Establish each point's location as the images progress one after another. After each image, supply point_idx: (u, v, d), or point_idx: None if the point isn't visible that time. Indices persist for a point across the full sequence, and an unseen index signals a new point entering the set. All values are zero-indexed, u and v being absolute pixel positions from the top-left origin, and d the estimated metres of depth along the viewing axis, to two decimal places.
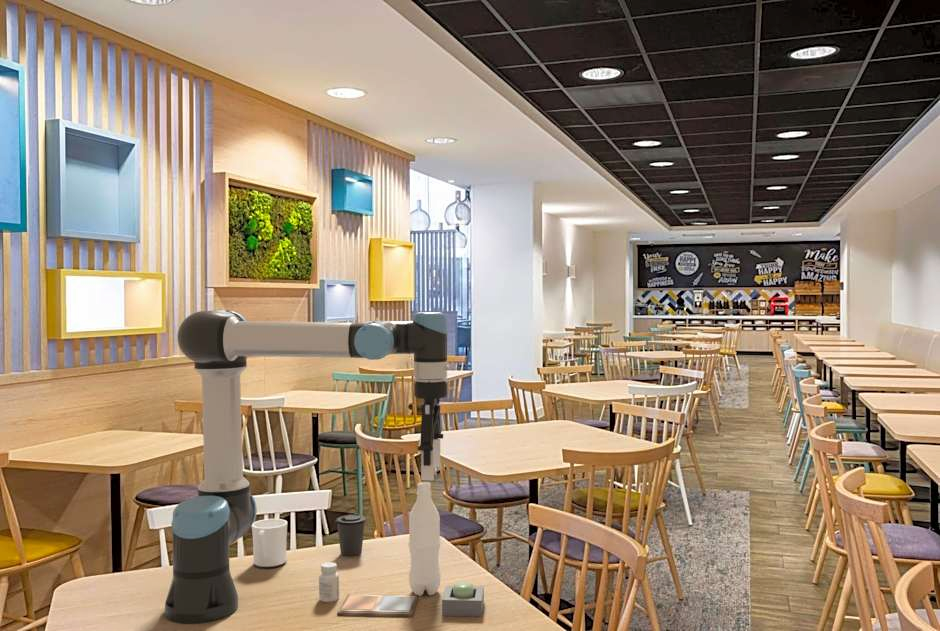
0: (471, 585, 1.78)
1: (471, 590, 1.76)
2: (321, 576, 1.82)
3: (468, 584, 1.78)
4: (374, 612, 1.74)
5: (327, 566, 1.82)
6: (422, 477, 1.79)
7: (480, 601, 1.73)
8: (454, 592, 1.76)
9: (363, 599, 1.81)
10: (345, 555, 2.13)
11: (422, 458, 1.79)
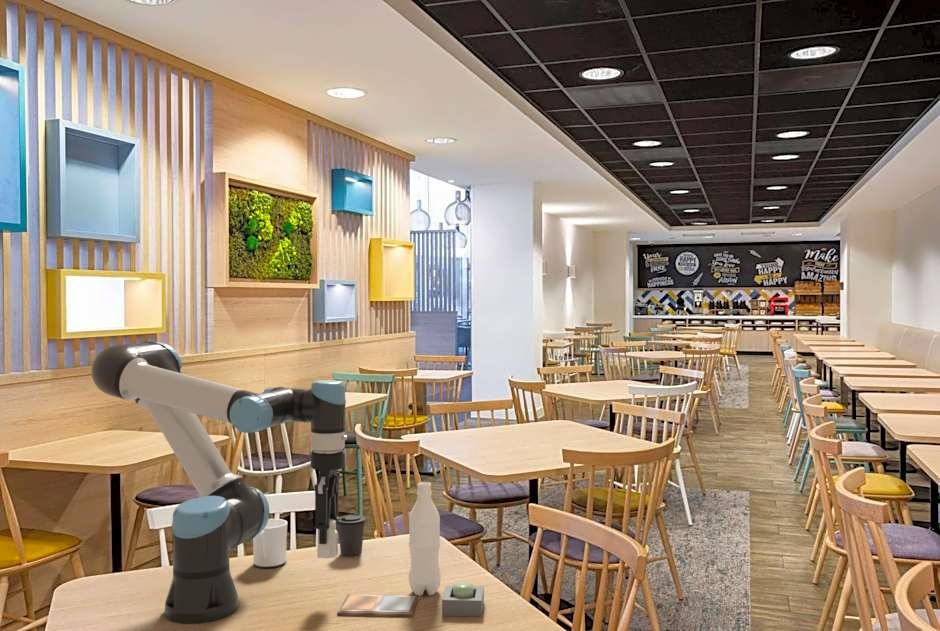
0: (471, 585, 1.78)
1: (471, 590, 1.76)
2: None
3: (468, 584, 1.78)
4: (374, 612, 1.74)
5: None
6: (318, 555, 1.81)
7: (480, 601, 1.73)
8: (454, 592, 1.76)
9: (363, 599, 1.81)
10: (345, 555, 2.13)
11: (318, 536, 1.81)
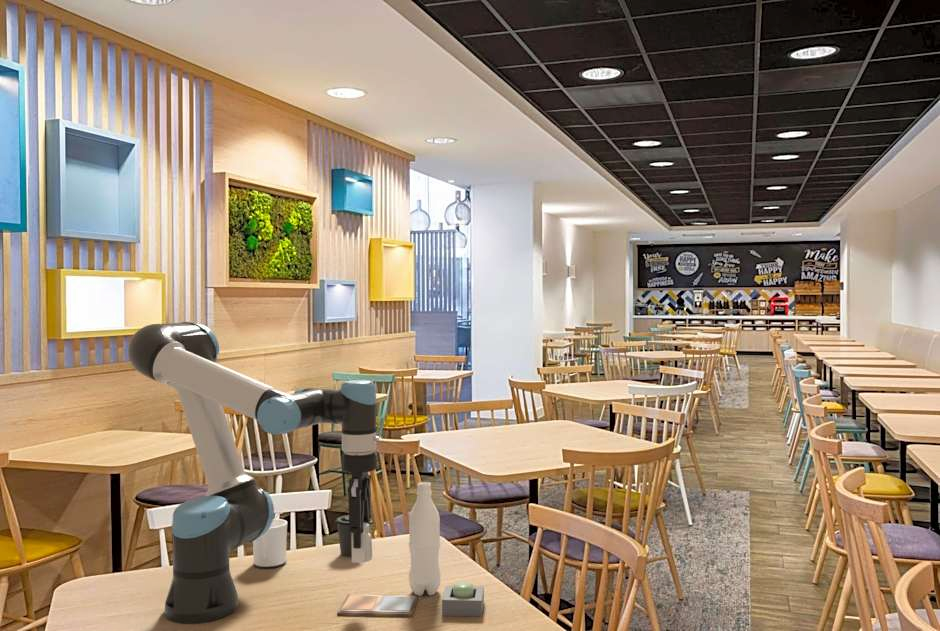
0: (471, 585, 1.78)
1: (471, 590, 1.76)
2: None
3: (468, 584, 1.78)
4: (374, 612, 1.74)
5: None
6: (352, 559, 1.76)
7: (480, 601, 1.73)
8: (454, 592, 1.76)
9: (363, 599, 1.81)
10: (345, 555, 2.13)
11: (352, 540, 1.76)
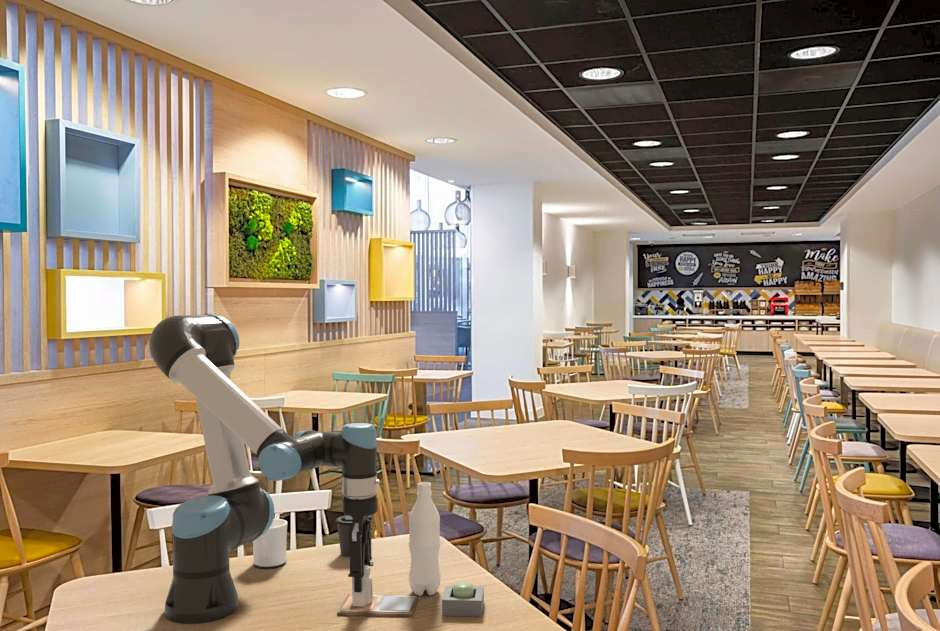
0: (471, 585, 1.78)
1: (471, 590, 1.76)
2: None
3: (468, 584, 1.78)
4: (374, 612, 1.74)
5: None
6: (353, 603, 1.76)
7: (480, 601, 1.73)
8: (454, 592, 1.76)
9: None
10: (345, 555, 2.13)
11: (353, 584, 1.76)
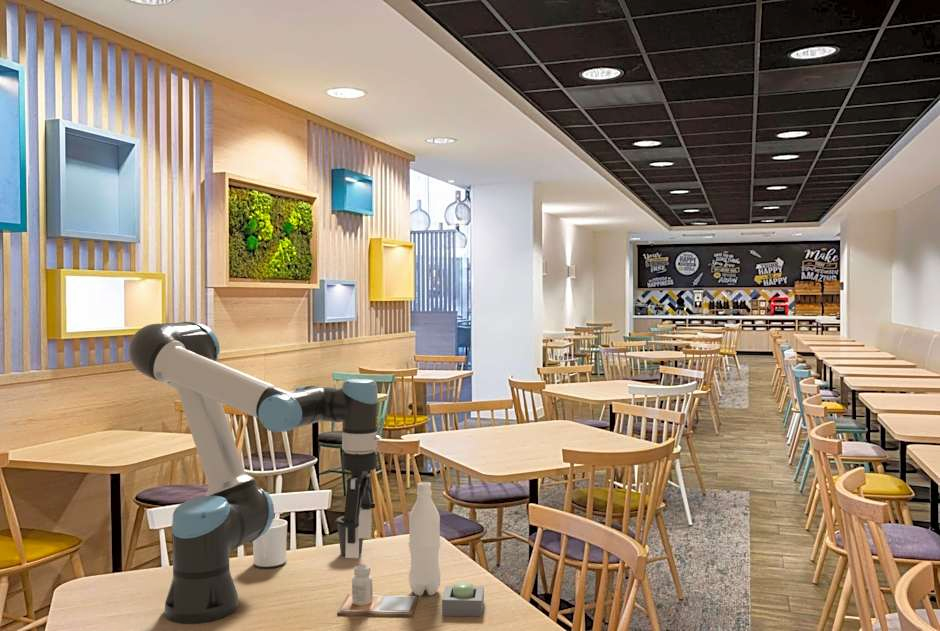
0: (471, 585, 1.78)
1: (471, 590, 1.76)
2: (354, 579, 1.78)
3: (468, 584, 1.78)
4: (374, 612, 1.74)
5: (360, 569, 1.78)
6: (346, 555, 1.72)
7: (480, 601, 1.73)
8: (454, 592, 1.76)
9: None
10: None
11: (347, 535, 1.72)
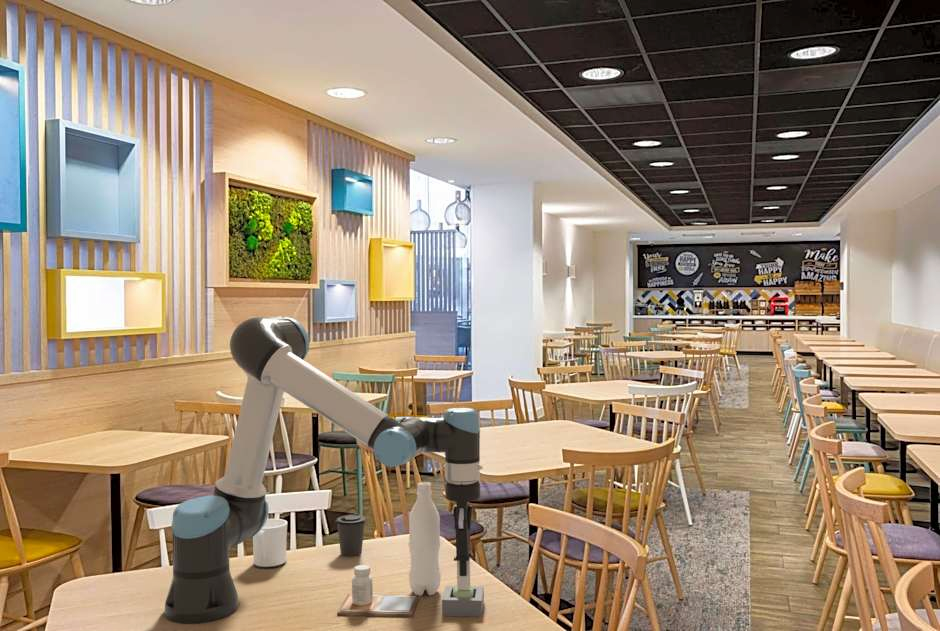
0: (471, 589, 1.78)
1: (471, 594, 1.76)
2: (354, 579, 1.78)
3: None
4: (374, 612, 1.74)
5: (360, 569, 1.78)
6: (458, 587, 1.77)
7: (480, 601, 1.73)
8: (454, 596, 1.76)
9: None
10: (345, 555, 2.13)
11: (458, 568, 1.77)
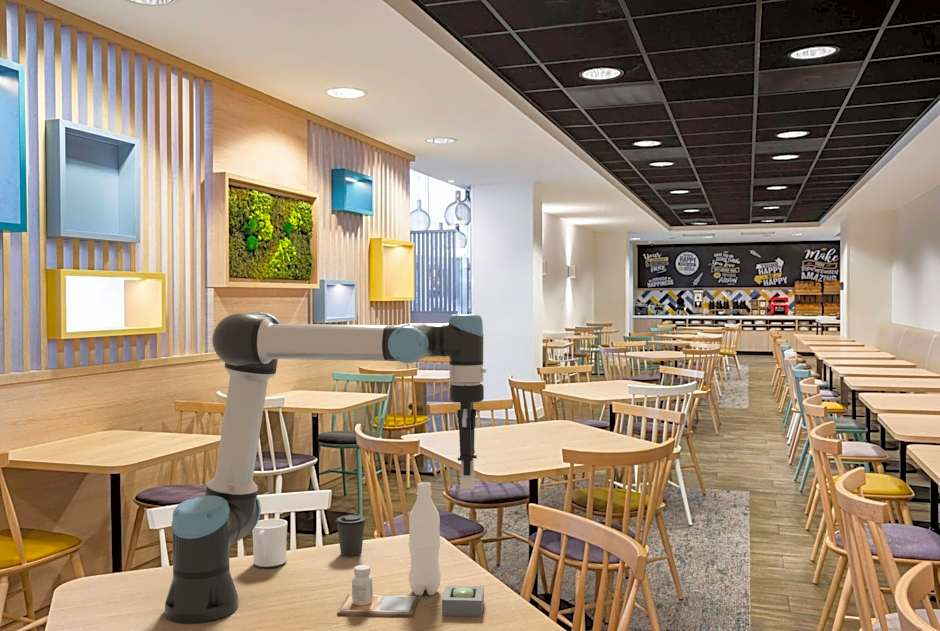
0: (471, 590, 1.78)
1: (471, 595, 1.76)
2: (354, 579, 1.78)
3: (468, 589, 1.78)
4: (374, 612, 1.74)
5: (360, 569, 1.78)
6: (462, 487, 1.82)
7: (480, 601, 1.73)
8: (454, 597, 1.76)
9: None
10: (345, 555, 2.13)
11: (462, 468, 1.82)
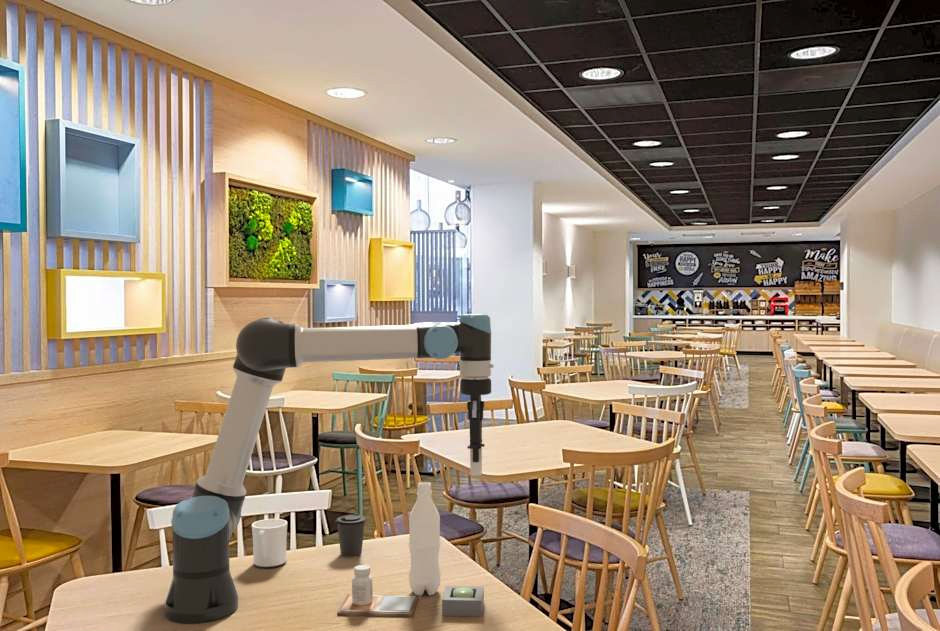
0: (471, 590, 1.78)
1: (471, 595, 1.76)
2: (354, 579, 1.78)
3: (468, 589, 1.78)
4: (374, 612, 1.74)
5: (360, 569, 1.78)
6: (471, 472, 1.98)
7: (480, 601, 1.73)
8: (454, 597, 1.76)
9: None
10: (345, 555, 2.13)
11: (471, 455, 1.98)
